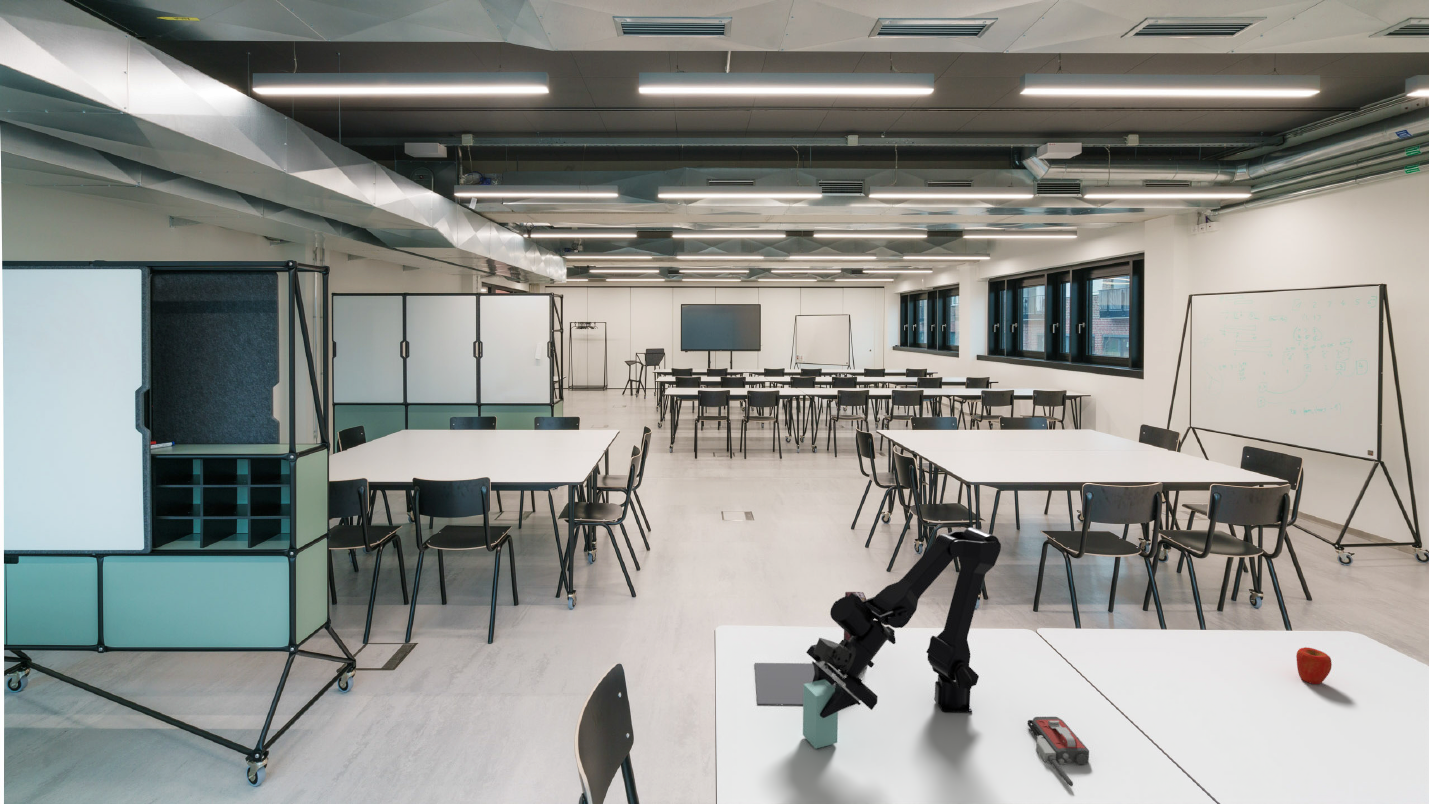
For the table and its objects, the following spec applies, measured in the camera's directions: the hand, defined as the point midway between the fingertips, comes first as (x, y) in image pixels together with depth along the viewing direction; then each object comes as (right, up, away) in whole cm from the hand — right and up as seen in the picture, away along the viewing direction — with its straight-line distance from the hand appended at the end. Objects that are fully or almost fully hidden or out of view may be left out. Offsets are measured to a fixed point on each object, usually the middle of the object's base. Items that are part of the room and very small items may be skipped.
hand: (814, 709), depth 143 cm
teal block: (+1, -7, +1) cm, 7 cm away
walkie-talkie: (+48, -8, -3) cm, 49 cm away
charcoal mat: (-1, -4, +23) cm, 24 cm away
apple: (+120, -4, +25) cm, 122 cm away
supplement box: (+15, -3, +35) cm, 38 cm away
